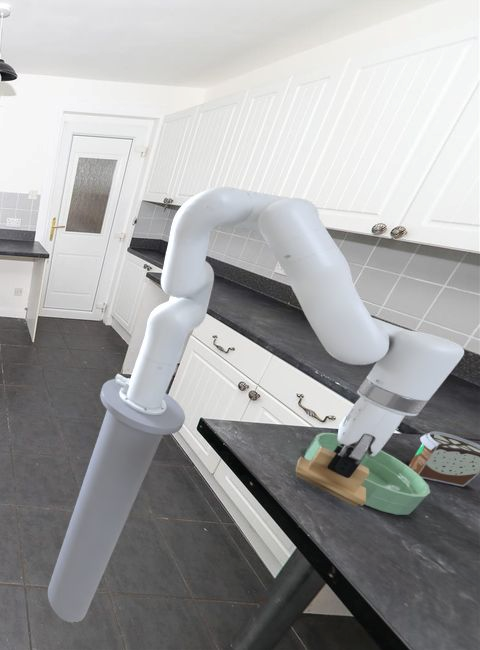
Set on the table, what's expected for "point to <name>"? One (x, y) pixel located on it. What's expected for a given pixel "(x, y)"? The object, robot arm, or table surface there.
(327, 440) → the bowl
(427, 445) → the food container
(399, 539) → the table surface
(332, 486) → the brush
